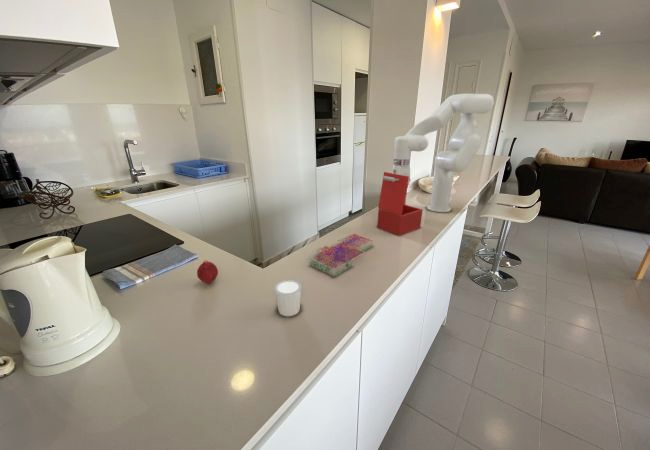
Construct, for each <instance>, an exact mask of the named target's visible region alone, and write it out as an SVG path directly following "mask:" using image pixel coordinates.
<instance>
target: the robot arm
mask: <svg viewBox="0 0 650 450" xmlns="http://www.w3.org/2000/svg"><path fill="white" fill-rule="evenodd" d="M494 105H495V99H494V96H492V95H491V94H489V93H458V94H451V95H449V96H448V97H447V98H446V99H445V100H444V101H443V102H442V103H440V105H439V106H438V107H437V108H436V109H435V110H434V111H433V112H432V113H431V115H429V116H428V117H426V118H424V119H423V120H421V121H419V122H417V123H416V124H415V125H413V126H412V128H410V129H409V130H408V131H407V133H406V134H405V135H398V136H396V137H395V139H394V147H393V148H394V151H393V152H394V153H393V164H392V169H391V173H393V174H398V175H404V176H409V180H408V185H407V190H406V195H408V192H407V191H408V188H409V185H410V184H411V183H410V182H411V180H412V179H411V165H410V159H411V152H423V151H425V150H426V149H427V148H428V146H429V140H428V138H427V136H426V135H428V134H431V133H433V132H437V131H439V130H441V129H443V128H444V127H445V126H447V124H448V123H449V122H450V121H451V120H452V119H453V118H454V117H455V116H456V115H457V114H460V122H459V124H458V125H457V127H456V128H455V130H454V131H453V133H452V135H451V137H450V138H449V140H448V143H447V146H448V148H449V149H450V150H441V151H439V152H438V153H437V154H436V155H435V157H434V160H433V161H434V175H433V182H432V189H431V196H430V203H429V204H427V205H426V209H427V210H429V211H431V212H434V213H449V212H451V211H452V207H451V206H449V205H450V204H452V203H453V201H452V200H451V194H452V193H451V192H452V188H453V182H454V173H461V172H464V171H465V170H466V168H467V167H468V166H469V165H470V163H471V162H472V161H473V159H474V157H475V156H476V154H477V152H478V151H479V149H480V147H481V144H482V143H481V141H482V140H481V136H480V135H479V134H478V133H475V132H476V130H477V128H478V125H479V122H478V116H477V114H486V113H488V112H490V111H491V110H492V109H493V107H494Z"/></svg>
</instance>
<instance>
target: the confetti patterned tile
mask: <svg viewBox="0 0 650 450" xmlns="http://www.w3.org/2000/svg"><path fill="white" fill-rule="evenodd" d="M366 245H367V246H366ZM372 247H373V239H371V238H367V237H364V236H361V235H359V234H357V233H354V232H353V233H351V234H349V235H347V236H344V237H342V238H339V239H338V240H337V242H336V243H334V244H332V245H330V246H329V245H323V246H320V247H319V248H316V249H314V250H312V253H313V254H311V255H309V256H307V259H305V261H306V262H309V263H310V262H311V266H313V267H316V266H318V267H317V269H318V270H320V271H322V272H324V273H327V274H328V275H330V276H332V277H335V276H337V275H339V274H341V273H342V269H344V271H346V270H347V269H349V268H351V266H352V262H353V260H356V259H357V258H360V257H361V256H363V255H364V254H366V251H367V250H368V249H370V248H372ZM346 264H347V265H348V267H346V268H345V266H343V265H346ZM338 269H339V272H336V270H338ZM331 270H332V272H331Z"/></svg>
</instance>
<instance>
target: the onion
mask: <svg viewBox="0 0 650 450" xmlns="http://www.w3.org/2000/svg"><path fill="white" fill-rule="evenodd" d="M218 274H219V269H218V267H217V266H216V264H215V263H214V262H211V261H209V260H207V259H203V262H202V263H200V265H198V268H197V271H196V275H197V276H196V277H197V278H198V279H199V280H200V282H203V283H206V284H211V283H212V282H214V281H215V280H216V279H217V277H218Z"/></svg>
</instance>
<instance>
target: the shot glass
mask: <svg viewBox="0 0 650 450" xmlns="http://www.w3.org/2000/svg"><path fill="white" fill-rule="evenodd" d="M274 293H275V299H276V305H277V310H278V313H279V314H280V315H281V316H284V317H292V316H295V315H297V314H298V313H299V312H300V310H301V295H302V284H301V283H300V282H299V281H297V280H293V279H285V280H281V281H279V282H278V283H276V284H275V285H274Z"/></svg>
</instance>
